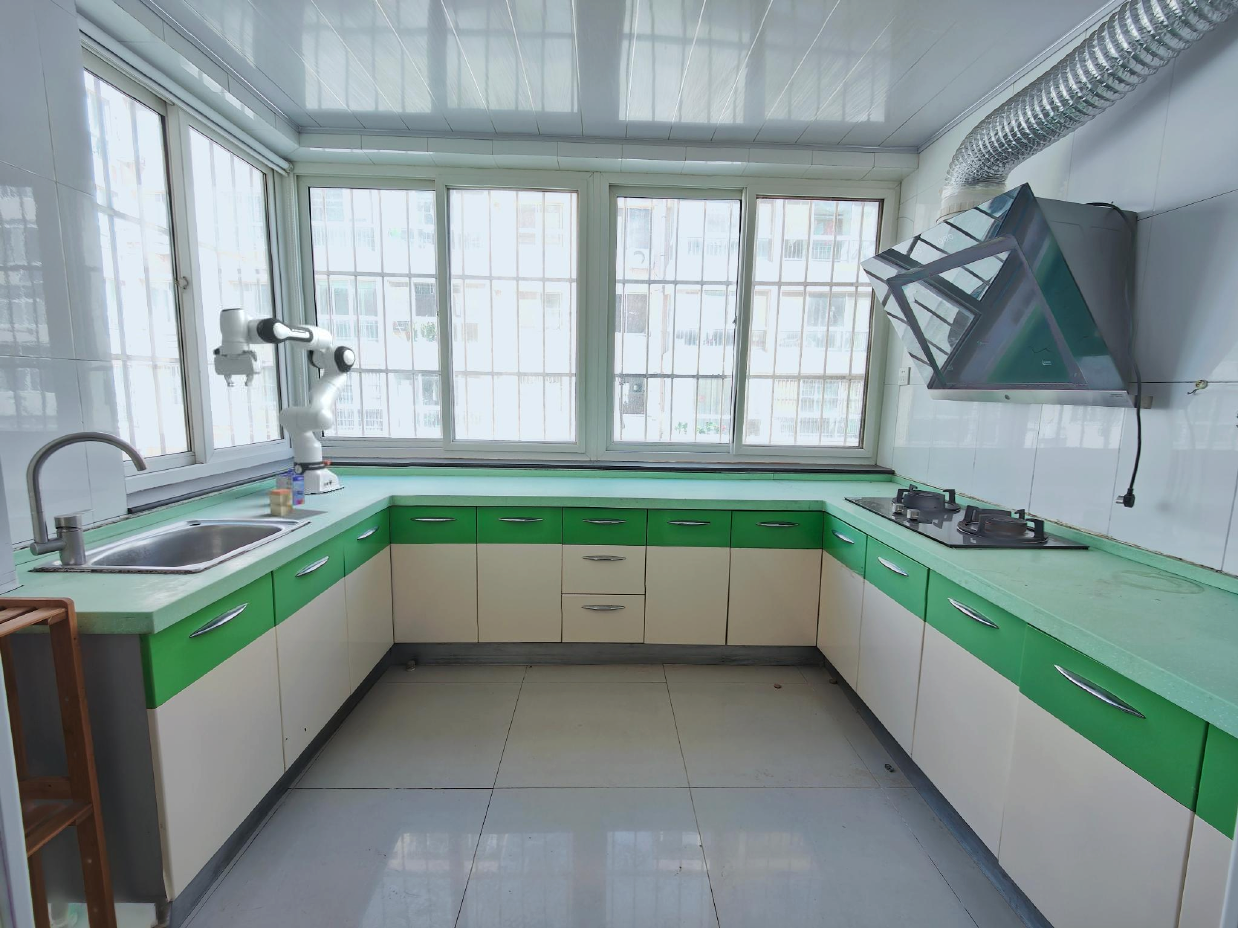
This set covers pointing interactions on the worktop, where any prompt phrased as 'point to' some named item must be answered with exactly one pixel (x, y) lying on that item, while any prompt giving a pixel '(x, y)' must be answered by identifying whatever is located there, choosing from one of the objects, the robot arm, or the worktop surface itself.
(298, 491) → the ink cartridge box
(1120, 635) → the worktop surface
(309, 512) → the rubber mat
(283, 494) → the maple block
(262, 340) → the robot arm
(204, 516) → the worktop surface
